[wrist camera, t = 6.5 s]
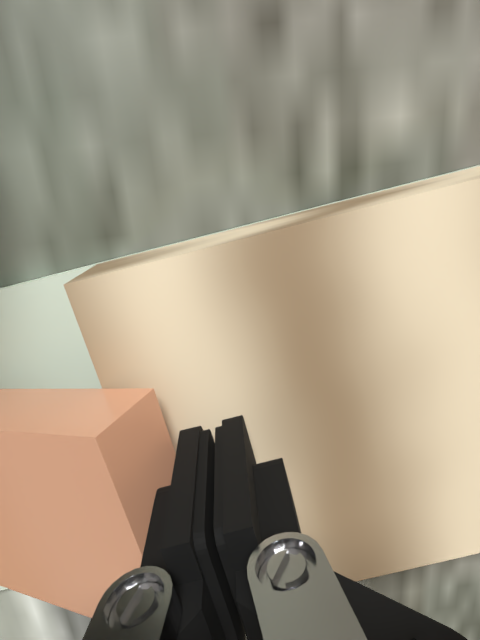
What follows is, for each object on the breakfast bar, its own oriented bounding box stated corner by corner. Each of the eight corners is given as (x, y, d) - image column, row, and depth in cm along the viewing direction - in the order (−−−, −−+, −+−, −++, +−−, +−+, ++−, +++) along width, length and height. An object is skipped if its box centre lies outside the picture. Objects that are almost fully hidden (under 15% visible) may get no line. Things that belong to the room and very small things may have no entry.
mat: (485, 163, 13) (491, 163, 13) (509, 465, 17) (514, 470, 16) (-208, 341, 14) (-217, 344, 14) (-58, 598, 17) (-63, 605, 17)
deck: (484, 164, 13) (558, 158, 10) (508, 471, 16) (570, 532, 13) (97, 264, 13) (63, 284, 11) (194, 545, 17) (188, 619, 14)
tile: (153, 388, 11) (95, 437, 9) (217, 578, 12) (178, 648, 11) (-36, 388, 14) (-101, 423, 13) (33, 533, 16) (-17, 579, 14)
